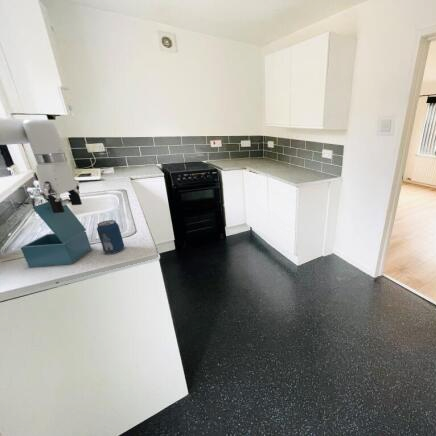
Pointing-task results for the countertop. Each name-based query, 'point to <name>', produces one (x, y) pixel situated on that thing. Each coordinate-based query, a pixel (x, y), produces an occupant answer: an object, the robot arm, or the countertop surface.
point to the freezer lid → (60, 221)
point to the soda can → (110, 236)
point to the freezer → (55, 250)
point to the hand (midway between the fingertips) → (68, 208)
